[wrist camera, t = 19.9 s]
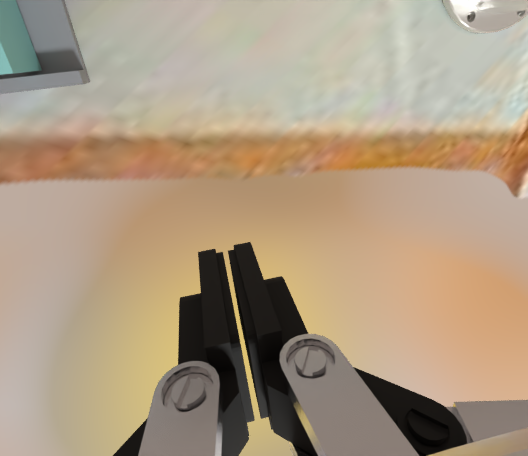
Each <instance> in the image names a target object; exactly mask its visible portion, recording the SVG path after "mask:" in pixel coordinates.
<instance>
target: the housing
mask: <svg viewBox="0 0 528 456" xmlns="http://www.w3.org/2000/svg"><path fill="white" fill-rule="evenodd" d="M16 2H17V5H18V8H19V10H20V13H21V16H22V18H23V21H24V24H25V26H26V29H27V32H28V34H29V37H30V40H31V42H32V45H33V48H34V50H35V53H36V56H37V58H38V61H39V63H40V66H41V69H42V70H40V71H32V72H23V73H13V74H3V75H0V94H4V93H13V92H21V91H30V90H38V89H46V88H55V87H63V86H71V85H80V84H85V83H89V82H90V80H89V77H88V74H87V70H86V67H85V64H84V61H83V58H82V55H81V52H80V49H79V45H78V42H77V39H76V36H75V33H74V30H73V27H72V23H71V20H70V17H69V14H68V11H67V8H66V5H65V1H64V0H16Z"/></svg>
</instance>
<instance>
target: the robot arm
mask: <svg viewBox="0 0 528 456" xmlns="http://www.w3.org/2000/svg"><path fill="white" fill-rule="evenodd" d="M442 1H443V4H444V7H445V9H446V10H447V12H448V14H449V16H450V17H451V18H452V19H453V21H454V22H455V23H456V24H457V25H458V26H460V27H462V28H463V29H465V30H467V31H470V32H474V33H490V32H498V31H501V30H504V29H507V28H509V27H511V26H512V25H514V24H516V23H518V22H519V21H521V20H522V19H523V18H524V17H526V16H527V15H528V0H442ZM228 254H229V259H230V264H231V271H232V276H233V282H234V287H235V293H236V298H237V305H238V310H239V316H240V321H241V325H242V330H243V335H244V340H245V345H246V350H247V355H248V359H249V364H250V369H251V374H252V378H253V383H254V388H255V393H256V397H257V402H258V407H259V412H260V416H261V418H266V417H269V420H270V425H271V429H273V431H274V433H276V434H278V435H279V436H281V437H282V438H284V439H286V440H287V441H289V445H290V448H291V451H292V454H293V456H528V400H513V401H512V400H510V401H479V402H478V401H475V402H454V404H453V407H444V406H443V405H441V404H439V403H437V402H436V401H434V400H432V399H429V398H427V397H424V396H422V395H419V394H417V393H415V392H412V391H410V390H408V389H405V388H402V387H400V386H398V385H395V384H393V383H391V382H388V381H386V380H383V379H381V378H379V377H376V376H374V375H371V374H369V373H366V372H364V371H362V370H359V369H357V368H354V367H352V365H351V364H350V363H349V361H348V360H347V358H346V357H345V356H344V355H343V353H342V352H341V350H340V349H339V348H338V347H337V346H336V345H335V344H334V343H333V342H332V341H331V340H329V339H328V338H326V337H324V336H320V335H316V334H308V332H307V330H306V328H305V325H304V323H303V321H302V319H301V316H300V314H299V312H298V310H297V307H296V305H295V304H294V301H293V298H292V296H291V294H290V292H289V289H288V287H287V285H286V283H285V280H284V279H283V277H276V278H271V279H267V280H264V279H263V276H262V273H261V271H260V268H259V265H258V262H257V259H256V256H255V254H254V251H253V248H252V245H251V243H250V242H248V243H243V244H238V245H234V250H230V251H228ZM198 257H199V270H200V286H201V293H200V294H195V295H190V296H185V297H181V298H180V305H179V307H180V308H179V309H180V310H179V352H178V353H179V355H178V356H179V357H178V365H177V366H175V367H173V368H172V369H171V370H169V371H168V372H167V373H166V374H165V375H164V376H163V377H162V378H161V380H160V381H159V383H158V385H157V387H156V389H155V392H154V396H153V400H152V403H151V407H150V412H149V415H148V418H147V419H146V421H145V422H144V423H143V424H142V425H141V426H140V427H139V428H138V429H137V430H136V431H135V432H134V433H133V435H132V436H131V437H130V438H129V439H128V440H127V441H126V442H125V443H124V444H123V445H122V446H121V447H120V449H119V450H118V451H117V452H116V453H115V454H114V455H113V456H239V454H240V452H241V451H242V449H243V448H244V446H245V445H246V443H247V441H248V440H249V437H248V436H249V432H248V426H247V422H251V421H254V415H253V409H252V404H251V399H250V393H249V388H248V382H247V378H246V372H245V366H244V361H243V355H242V350H241V344H240V339H239V334H238V329H237V323H236V318H235V313H234V308H233V303H232V298H231V293H230V287H229V282H228V277H227V272H226V267H225V261H224V257H223V252H220V253H216V250H215V249H212V250H206V251H201V252H198Z"/></svg>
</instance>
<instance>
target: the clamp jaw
mask: <svg viewBox="0 0 528 456" xmlns="http://www.w3.org/2000/svg"><path fill="white" fill-rule="evenodd" d="M40 70H42V69H41V66H40V63H39V61H38V58H37V56H36V53H35V50H34V48H33V45H32V42H31V40H30V37H29V34H28V32H27V29H26V26H25V24H24V21H23V18H22V16H21V13H20V10H19V8H18V5H17V2H16V0H0V75H3V74H13V73H23V72H32V71H40Z"/></svg>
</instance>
